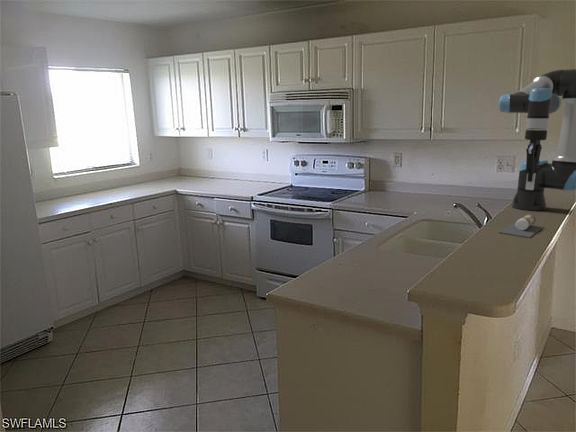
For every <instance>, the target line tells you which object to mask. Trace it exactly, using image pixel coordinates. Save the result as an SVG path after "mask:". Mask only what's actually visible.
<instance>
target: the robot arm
mask: <svg viewBox="0 0 576 432" xmlns="http://www.w3.org/2000/svg"><path fill="white" fill-rule="evenodd" d="M561 97H562V99H561ZM498 102H499V103H498V109H499V111H500V112H501V113H505V114H506V113H508V114H527V116H526V120H525V123H526V124H525V125H526V127H525V128H526V130H525V132H524V139H525V140H527V141H529V144H527V148H526V160H525V161H522V162H521V163H520V165H519V170H518V183H517V190H516V193H515V195H514V197H513V198H512V201H511V207H512V208H514V209H517V210H525V211H535V212H536V211H538V212H539V211H540V212H541V211H545V210H546V209H547V201H546V197H545V189H549V190H550V189H551V190H560V191H561V190H562V191H569V192H570V191H571V192H572V191H576V68H573V69H572V68H571V69H556V70H552V71H548V72H547V73H544V74H541V75H539V76H538V77H536V78H534V79H533V81H532V82H531V83H530V84H528V85H526V86H524V87H523V88H521V89H520V90H518V91H517V92H514V93H512V94H510V93H508V94H502V95H501V96H500V98H499V101H498ZM562 102H563V103H564V108H563V109H564V110H563V114H562V122H561V127H560V136H559V141H558V148H557V154H556V156H555V157H554V158H553V159H552V161H551V163H549V161H548V160H547V159H541V158H540V157H541V152H542V148H543V146H542V144H541V141H545V140H546V141H547V139H548V138H547V137H548V130H547V129H549V122H550V121H549V120H550V114H552V113H553V114H554V113H555V112H557V111H558V110H560V108H561V106H562Z"/></svg>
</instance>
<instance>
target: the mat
mask: <svg viewBox="0 0 576 432" xmlns="http://www.w3.org/2000/svg"><path fill="white" fill-rule="evenodd" d="M543 228H544V227H543V226H537V225H533V224H532V225H531V226H530V227H528V228H527V229H526V230H523V231H521V230H518V229H517V228H516V222H514V223H511V224H510V225H508V226H507V227H504V228H503V229H502V230H500V231H499V232H498V233H499V234H503V235H509V236H514V237H521V238H527V239H530V238H532V237H533V236H534V235H536V234H538V232H540V231H541V230H543Z"/></svg>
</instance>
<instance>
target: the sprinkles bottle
mask: <svg viewBox="0 0 576 432" xmlns="http://www.w3.org/2000/svg"><path fill="white" fill-rule="evenodd" d="M536 221H537V220H536V217H535V215H534V214H530V213H529V214H526V215H525V216H524V217H521V218H519V219H518V220H516V222H515V223H516V228H517V229H518V230H521V231H523V230H526V229H527V228H528V227H530V226H531V225H532V226H533V225H534V224H535V223H536Z"/></svg>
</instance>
